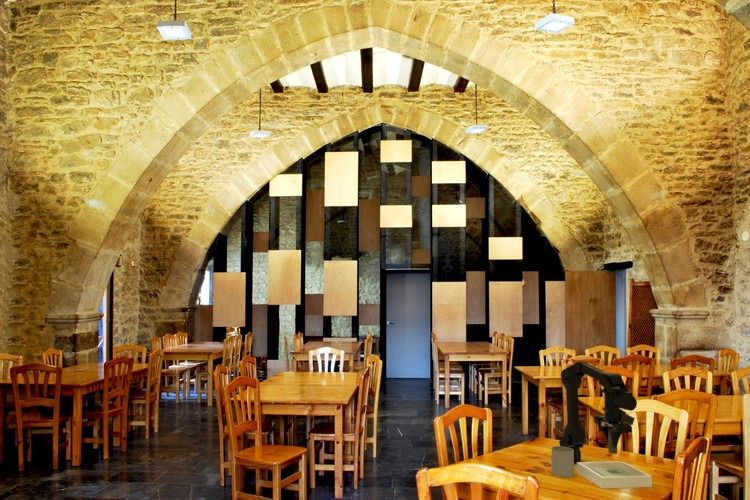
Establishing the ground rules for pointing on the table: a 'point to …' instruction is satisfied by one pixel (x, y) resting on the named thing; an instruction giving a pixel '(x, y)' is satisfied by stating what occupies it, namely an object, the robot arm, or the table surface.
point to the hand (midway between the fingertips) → (612, 446)
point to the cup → (562, 461)
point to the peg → (611, 448)
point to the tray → (615, 479)
